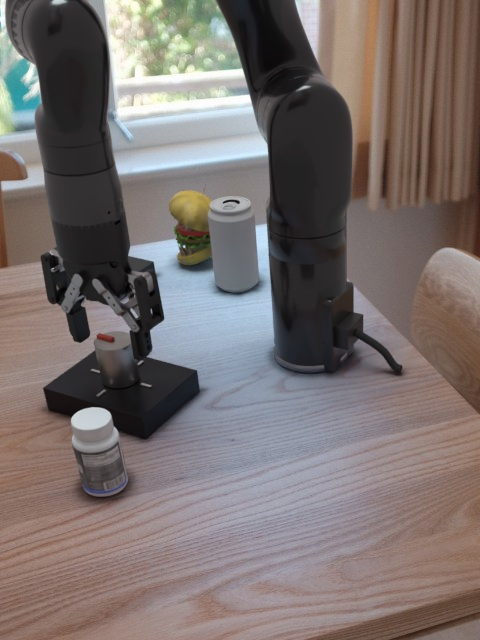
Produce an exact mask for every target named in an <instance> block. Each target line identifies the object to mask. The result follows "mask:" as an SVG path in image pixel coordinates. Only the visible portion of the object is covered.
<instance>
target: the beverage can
mask: <svg viewBox="0 0 480 640" xmlns="http://www.w3.org/2000/svg"><path fill="white" fill-rule="evenodd" d="M208 222H209V231H210V241H211V250H212V256H211V260H212V268H213V277H214V283H215V285H216V286H217V287H219V288H221V289H222V291H224V292H228V293H234V294H235V293H245V292H247V291H249V290H251V289H253V288H254V287H255V286H256V285H257V284H258V283H259V281H260V271H259V270H260V269H259V257H258V244H257V230H256V229H257V228H256V214H255V210H254V209H253V207H252V202H251V201H250V199H249V198H246V197H243V196H238V195H229V196H228V195H227V196H221V197H218V198H215V199H212V202H211V203H210V210H209V212H208Z"/></svg>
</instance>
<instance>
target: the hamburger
mask: <svg viewBox="0 0 480 640" xmlns="http://www.w3.org/2000/svg"><path fill="white" fill-rule="evenodd" d="M206 186H207V184H206V183H205V184H204V185H203V188H202V189H201V190H200V192H199V191H197V190H181V191H179V192H177V193H175V194H174V195H173V196H172V197H171V198H170V200H169V203H168V212H169V213H170V216H172V217H173V220H175V221H177V224H175V226H173V233H174V236H176V237H175V241H176V243H177V246H178V250H179V252H178V253H177V255H176V259H177V261H178V262H179V263H180V264H181V265H183V266H194V265H198V264H200V263H203V262H205V261H206V260H208V259H209V258H212V250H211V241H210V231H209V222H208V212H209V210H210V203H211V202H212V201H213V199H212V198H211V197H209V196H208V195H206V194H204V193H205V190H206Z"/></svg>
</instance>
